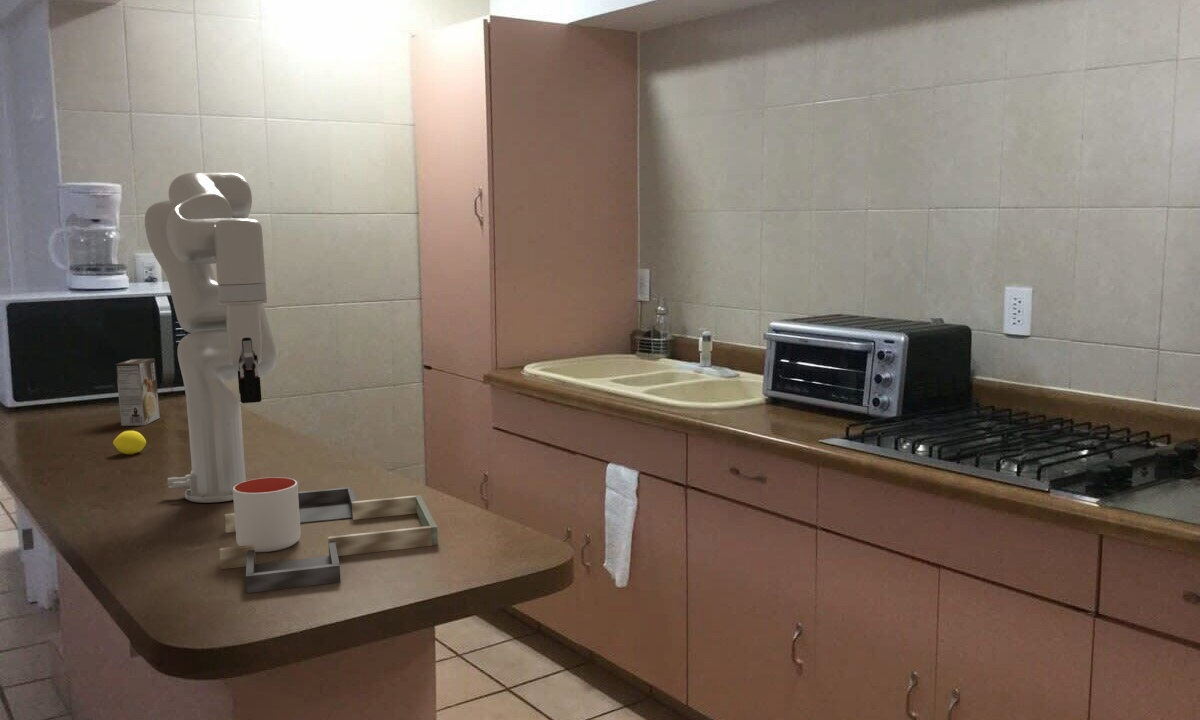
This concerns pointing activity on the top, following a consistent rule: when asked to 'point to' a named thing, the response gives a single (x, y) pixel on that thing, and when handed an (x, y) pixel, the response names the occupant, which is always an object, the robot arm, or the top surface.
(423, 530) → the box
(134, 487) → the top surface
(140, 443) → the lemon
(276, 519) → the cup
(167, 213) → the robot arm
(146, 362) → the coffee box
